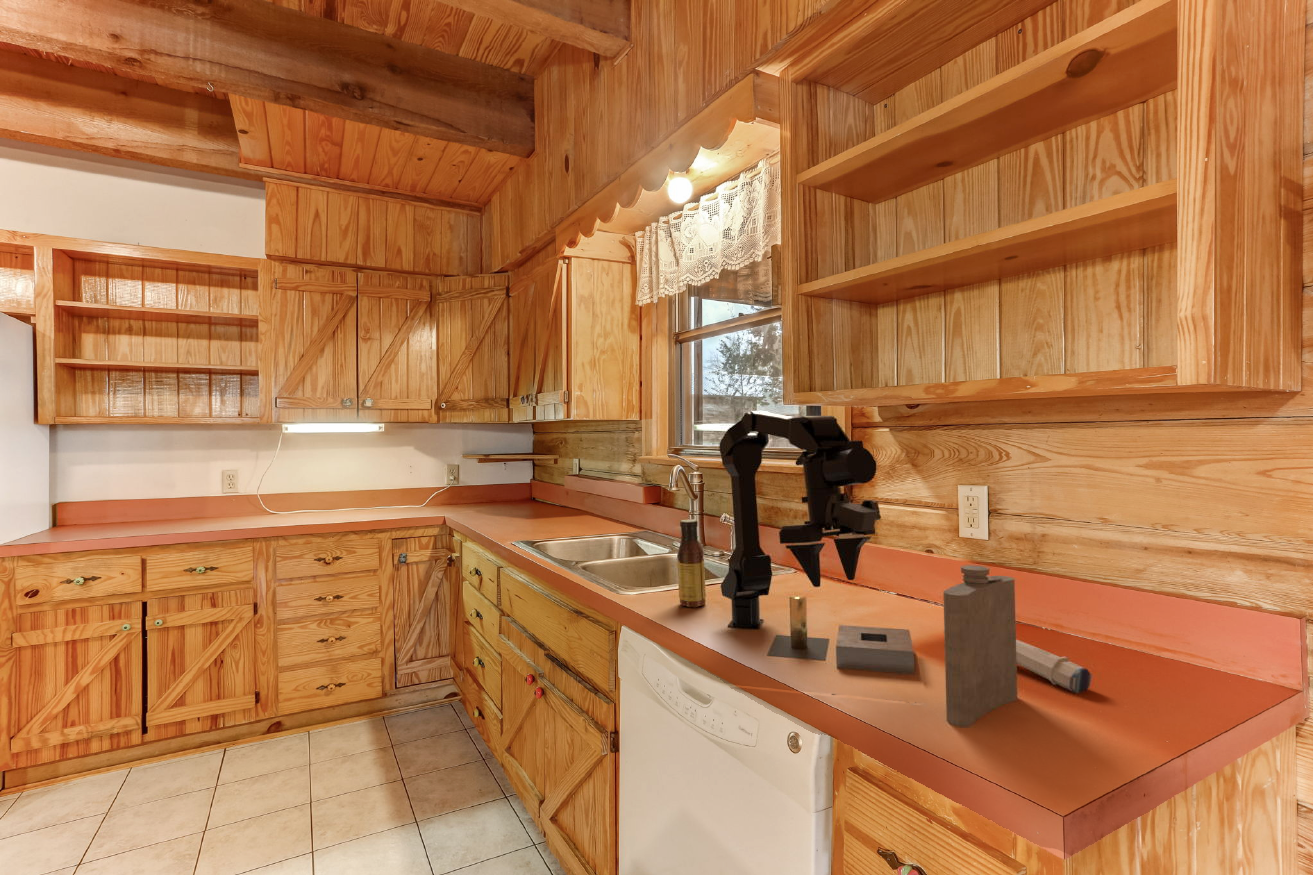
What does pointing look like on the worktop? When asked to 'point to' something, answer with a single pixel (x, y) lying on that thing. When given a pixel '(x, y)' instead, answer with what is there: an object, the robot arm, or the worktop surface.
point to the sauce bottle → (691, 566)
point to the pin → (798, 622)
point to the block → (875, 649)
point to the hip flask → (979, 645)
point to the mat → (783, 649)
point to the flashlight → (1053, 667)
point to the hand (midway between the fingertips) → (834, 583)
